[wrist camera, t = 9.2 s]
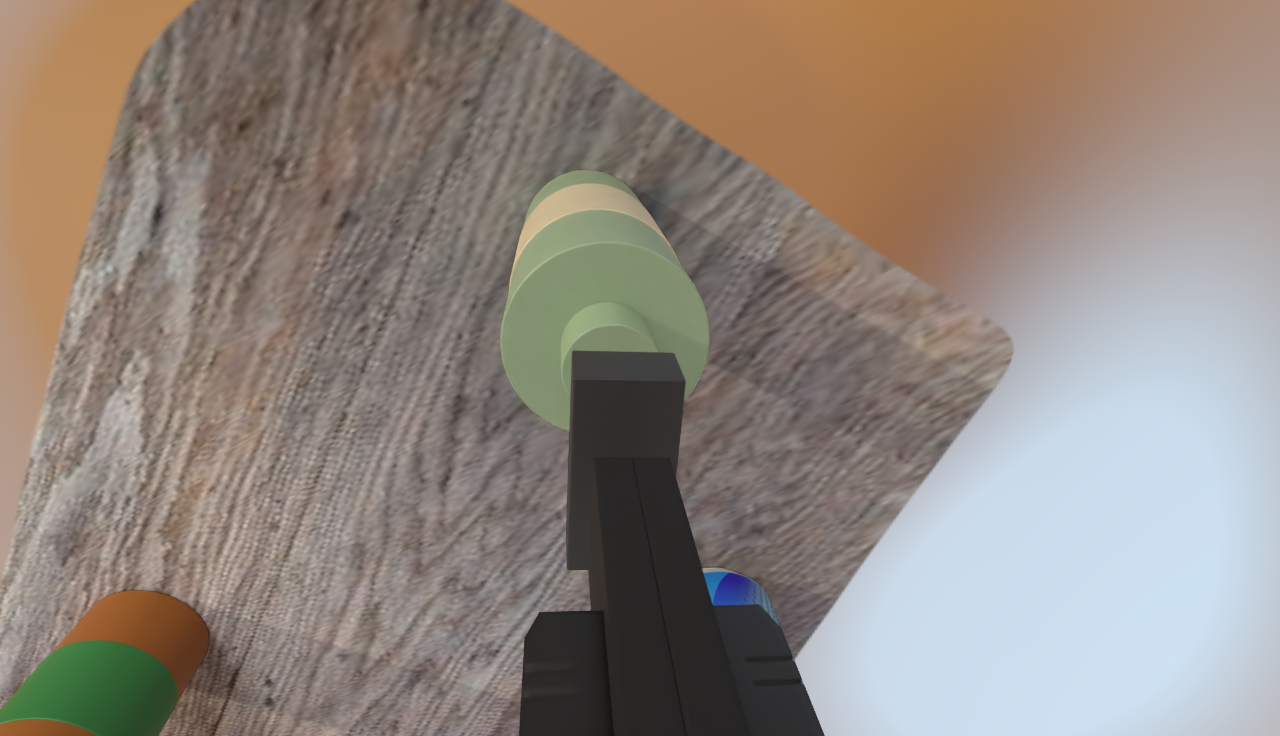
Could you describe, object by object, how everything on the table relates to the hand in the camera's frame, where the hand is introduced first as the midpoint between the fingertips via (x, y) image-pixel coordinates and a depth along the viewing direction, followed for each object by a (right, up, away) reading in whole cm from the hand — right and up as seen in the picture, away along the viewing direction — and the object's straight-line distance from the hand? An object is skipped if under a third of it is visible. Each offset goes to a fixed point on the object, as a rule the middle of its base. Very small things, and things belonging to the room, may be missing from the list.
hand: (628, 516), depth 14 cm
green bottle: (-2, +10, +22) cm, 24 cm away
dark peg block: (0, 0, +4) cm, 4 cm away
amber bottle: (-30, -13, +28) cm, 43 cm away
